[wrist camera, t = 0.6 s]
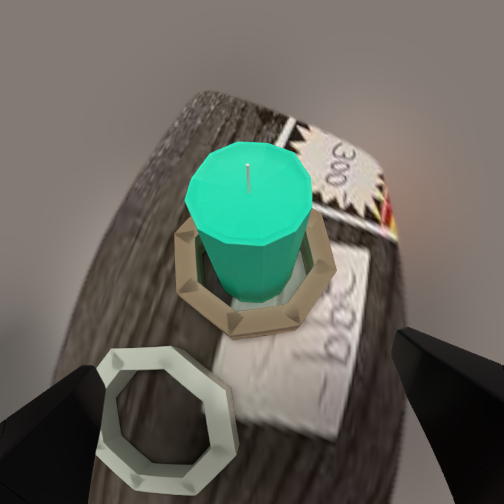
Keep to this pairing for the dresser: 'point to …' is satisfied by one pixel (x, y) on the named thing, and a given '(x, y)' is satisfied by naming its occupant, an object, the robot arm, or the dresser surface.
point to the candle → (251, 216)
